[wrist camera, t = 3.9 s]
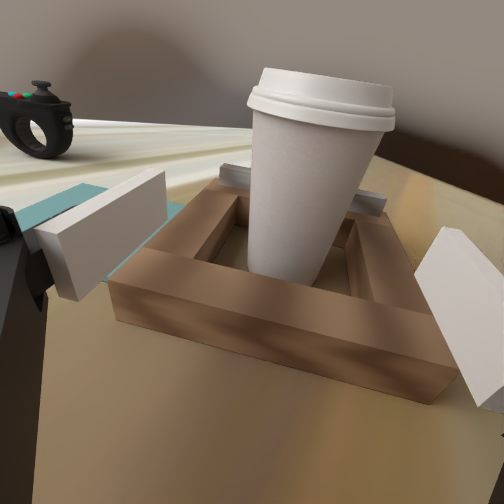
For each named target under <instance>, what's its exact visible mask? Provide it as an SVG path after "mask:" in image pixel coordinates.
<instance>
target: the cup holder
mask: <svg viewBox="0 0 504 504" xmlns="http://www.w3.org/2000/svg"><path fill="white" fill-rule="evenodd" d="M250 188H251V168H246V167H241V166H236V165H231V164H226V163H224V164H223V165H222V166H221V167H220V175H219V179H218V178H215V179H214V180H213V181H212V182H211V183H210V184H209V185H208V186H206V187H205V188H204V189H203V190H202V191H201V192H200V193H199V194H198V195H197V196H196V197H195V198H194V199H193V200H191V201H190V202H189V203H188V204H187V205H186V206H185V207H184V208H183V209H182V210H181V211H180V212H179V213H178V214H176V215H175V216H174V217H173V218H172V219H171V220H170V221H169V222H168V223H167V224H166V225H165V226H164V227H162V228H161V229H160V230H159V231H158V232H157V233H156V234H155V235H154V236H153V237H152V238H151V239H150V240H149V241H147V242H146V243H145V244H144V245H143V246H142V247H141V248H140V249H139V250H138V251H137V252H136V253H135V254H134V255H132V256H131V257H130V258H129V259H128V260H127V261H126V262H125V263H124V264H123V265H122V266H121V267H120V268H119V269H117V270H116V271H115V272H114V273H113V274H112V275H111V276H110V277H109V278H108V279H107V282H108V287H109V291H110V296H111V300H112V305H113V309H114V314H115V318H116V320H119V321H122V322H126V323H130V324H133V325H137V326H141V327H144V328H148V329H152V330H155V331H159V332H163V333H166V334H170V335H174V336H177V337H181V338H185V339H189V340H192V341H196V342H200V343H203V344H207V345H211V346H214V347H218V348H222V349H225V350H229V351H233V352H236V353H240V354H244V355H247V356H251V357H255V358H258V359H262V360H266V361H270V362H273V363H277V364H281V365H284V366H288V367H292V368H295V369H299V370H303V371H306V372H310V373H314V374H317V375H321V376H325V377H328V378H332V379H336V380H339V381H343V382H347V383H351V384H354V385H358V386H362V387H365V388H369V389H373V390H376V391H380V392H384V393H387V394H391V395H395V396H398V397H402V398H406V399H409V400H413V401H417V402H420V403H424V404H428V405H429V404H430V403H431V402H432V401H433V400H434V399H435V398H436V397H437V396H438V395H439V394H440V393H441V392H442V391H443V390H444V389H445V388H446V387H447V386H448V385H449V384H450V383H451V382H452V381H453V380H454V379H455V377H456V376H457V375H458V374H459V373H460V372H461V371H460V369H459V367H458V365H457V363H456V361H455V359H454V357H453V355H452V353H451V351H450V349H449V347H448V344H447V342H446V340H445V338H444V336H443V334H442V332H441V330H440V328H439V326H438V324H437V322H436V319H435V317H434V315H433V313H432V311H431V309H430V307H429V305H428V303H427V301H426V299H425V297H424V295H423V292H422V290H421V288H420V286H419V284H418V282H417V280H416V278H415V276H414V273H415V271H414V269H413V267H412V265H411V263H410V261H409V259H408V257H407V255H406V253H405V251H404V249H403V247H402V244H401V242H400V240H399V238H398V236H397V234H396V232H395V230H394V228H393V226H392V224H391V222H390V220H389V218H388V216H387V214H386V212H382V211H383V208H384V206H385V204H386V202H387V199H386V197H385V195H384V194H379V193H374V192H369V191H364V190H359V189H357V191H356V194H355V196H354V198H353V200H352V202H351V204H350V206H349V209H348V211H347V213H346V215H345V217H344V220H343V222H342V224H341V226H340V228H339V230H338V233H337V235H336V237H335V239H334V241H333V243H332V246H337V247H341V248H344V249H345V257H346V264H347V271H348V279H349V286H350V293H351V296H347V295H343V294H339V293H335V292H331V291H326V290H322V289H318V288H314V287H310V286H305V285H301V284H297V283H293V282H289V281H284V280H280V279H276V278H272V277H267V276H263V275H259V274H255V273H251V272H246V271H242V270H238V269H234V268H230V267H225V266H221V265H217V264H213V263H212V262H213V260H214V259H215V257H216V255H217V254H218V252H219V250H220V249H221V247H222V245H223V244H224V242H225V240H226V239H227V237H228V235H229V234H230V232H231V230H232V229H233V227H234V225H235V224H236V225H241V226H245V227H249V212H250Z"/></svg>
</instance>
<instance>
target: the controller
mask: <svg viewBox="0 0 504 504" xmlns="http://www.w3.org/2000/svg"><path fill="white" fill-rule="evenodd" d="M32 85H34V86H37V88H38V90H37V91H36V92H35V93H34V94H29V93H24V94H23V95H21V94H18V93H16V92H10V93H6V92H0V128H1V130H2V132H3V133H4V135H5V136H6V137H7V139H8V140H9V141H10V142H11V143H12V144H14V145H15V146H16V147H17V148H18V149H20V150H21V151H23V152H25V153H26V154H29V155H31V156H34V157H38V158H52V157H55V156H58V155H60V154H62V153H64V152H65V151H66V150H68V148H69V147H70V145H71V142H72V138H73V128H74V126H73V124H72V119H73V118H72V113H71V112H70V108H69V107H70V106H71V103H69V102H66V101H60V99H59V98H58V97H57V96H55V95H54V94H53V93H51V92H50V91H48V88H47V87H50V86H51V83H50V82H46V81H32ZM31 120H32V121H34V122H35V123H36V124H37V125H38V126H39V127H40V128H41V129H42V130H43V132H44V134H45V137H46V141H47V143H46V146H45V145H43V144H41V143H40V142H39V141H38V140H37V139H36V138H35V136H34V135H33V133H32V131H31V129H30V121H31Z"/></svg>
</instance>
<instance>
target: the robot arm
mask: <svg viewBox="0 0 504 504" xmlns="http://www.w3.org/2000/svg"><path fill="white" fill-rule="evenodd" d="M166 221H167V201H166V182H165V170H160V169H155V168H149V169H147V170H145V171H143V172H141V173H139V174H137V175H135V176H133V177H131V178H129V179H128V180H126V181H124V182H122V183H120V184H118V185H116V186H114V187H112V188H110V189H108V190H106V191H105V192H103V193H101V194H99V195H97V196H95V197H93V198H91V199H89V200H87V201H85V202H83V203H81V204H78V205H75V206H72V207H70V208H68V209H66V210H64V211H62V212H61V213H58V214H56V215H54V216H52V218H48V219H46V220H44V221H42V222H40V223H38V224H36V225H35V226H33V227H31V228H29V229H27V230H25V231H23V232H22V231H21V228H20V226H19V223H18V221H17V218H16V216H15V213H14V211H13V209H11V208H9V207H5V206H0V504H32V493H33V481H34V469H35V456H36V444H37V432H38V420H39V407H40V395H41V383H42V371H43V358H44V346H45V334H46V322H47V309H48V296H47V293H46V290H47V289H48V288H50V287H51V286H52V285H53V284H55V287H56V290H57V293H58V295H59V297H62V298H66V299H69V300H73V301H77V302H79V301H80V300H82V299H83V298H84V297H85V296H86V295H87V294H88V293H89V292H90V291H91V290H92V289H93V288H95V287H96V286H97V285H98V284H99V283H100V282H101V281H102V280H103V279H104V278H105V277H106V276H108V275H109V274H110V273H111V272H112V271H113V270H114V269H115V268H116V267H117V266H118V265H119V264H121V263H122V262H123V261H124V260H125V259H126V258H127V257H128V256H129V255H130V254H131V253H132V252H133V251H135V250H136V249H137V248H138V247H139V246H140V245H141V244H142V243H143V242H144V241H145V240H146V239H148V238H149V237H150V236H151V235H152V234H153V233H154V232H155V231H156V230H157V229H158V228H159V227H161V226H162V225H163V224H164V223H165V222H166ZM414 276H415V278H416V280H417V282H418V284H419V286H420V288H421V290H422V292H423V295H424V297H425V299H426V301H427V303H428V305H429V307H430V309H431V311H432V313H433V315H434V317H435V319H436V322H437V324H438V326H439V328H440V330H441V332H442V334H443V336H444V338H445V340H446V342H447V344H448V347H449V349H450V351H451V353H452V355H453V357H454V359H455V361H456V363H457V365H458V367H459V369H460V371H461V374H462V376H463V378H464V380H465V382H466V384H467V386H468V388H469V390H470V392H471V394H472V396H473V398H474V401H475V403H476V405H477V407H479V408H482V409H486V410H490V411H494V412H498V413H501V414H504V276H503V275H502V274H501V273H500V272H499V271H498V269H497V268H496V267H495V266H494V265H493V264H492V263H491V262H490V261H489V260H488V259H487V258H486V257H485V256H484V254H483V253H482V252H481V251H480V250H479V249H478V248H477V247H476V246H475V245H474V244H473V243H472V242H471V241H470V239H469V238H468V237H467V236H466V235H465V234H464V233H463V232H462V231H461V230H459V229H454V228H449V227H444V226H442V228H441V230H440V231H439V233H438V235H437V236H436V238H435V240H434V241H433V243H432V245H431V246H430V248H429V250H428V252H427V253H426V255H425V257H424V258H423V260H422V262H421V263H420V265H419V267H418V268H417V270H416V272H415V273H414ZM501 436H503V437H504V433H503V434H502V435H501ZM488 504H504V463H503V466H502V468H501V471H500V474H499V476H498V479H497V482H496V484H495V487H494V490H493V492H492V495H491V498H490V500H489V503H488Z"/></svg>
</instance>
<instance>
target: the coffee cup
mask: <svg viewBox="0 0 504 504" xmlns="http://www.w3.org/2000/svg"><path fill="white" fill-rule="evenodd" d="M392 97H393V87H390V86H384V85H377V84H371V83H366V82H359V81H353V80H346V79H340V78H334V77H327V76H320V75H314V74H307V73H300V72H294V71H287V70H280V69H273V68H264V71H263V73H262V76H261V79H260V82H259V85H258V86H255V87H254V88H253V90H252V93H251V94H250V96H249V99H248V102H247V105H248V106H249V107H251V108H252V109H253V136H252V164H251V188H250V212H249V235H248V257H247V267H248V270H249V272H251V273H255V274H259V275H263V276H267V277H272V278H276V279H280V280H284V281H289V282H293V283H297V284H301V285H305V286H311V285H312V284H313V283H314V282H315V280H316V278H317V276H318V274H319V272H320V270H321V267H322V265H323V263H324V261H325V259H326V257H327V254H328V252H329V250H330V248H331V246H332V243H333V241H334V239H335V237H336V235H337V233H338V230H339V228H340V226H341V224H342V222H343V220H344V217H345V215H346V213H347V211H348V209H349V206H350V204H351V202H352V200H353V198H354V196H355V194H356V191H357V189H358V187H359V185H360V183H361V181H362V178H363V176H364V174H365V172H366V170H367V168H368V166H369V163H370V161H371V159H372V157H373V155H374V153H375V151H376V149H377V146H378V144H379V142H380V140H381V138H382V136H383V134H384V132H386V131H392V130H394V124H395V116H394V114H395V109H394V108H392V107H391V105H392Z"/></svg>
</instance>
